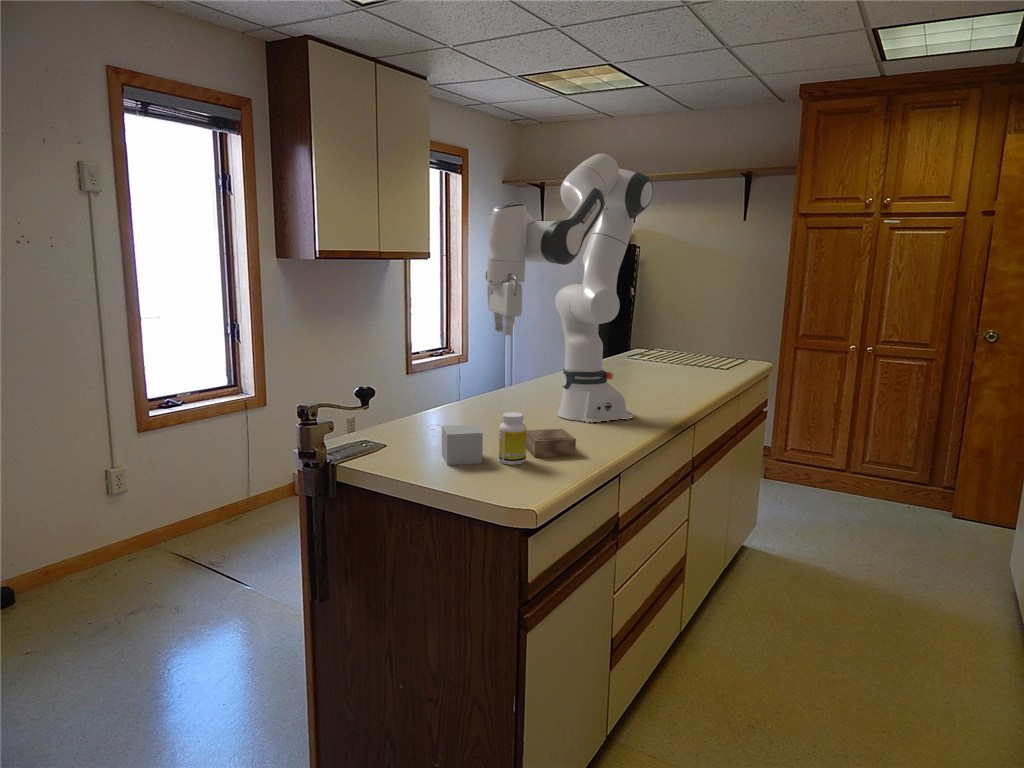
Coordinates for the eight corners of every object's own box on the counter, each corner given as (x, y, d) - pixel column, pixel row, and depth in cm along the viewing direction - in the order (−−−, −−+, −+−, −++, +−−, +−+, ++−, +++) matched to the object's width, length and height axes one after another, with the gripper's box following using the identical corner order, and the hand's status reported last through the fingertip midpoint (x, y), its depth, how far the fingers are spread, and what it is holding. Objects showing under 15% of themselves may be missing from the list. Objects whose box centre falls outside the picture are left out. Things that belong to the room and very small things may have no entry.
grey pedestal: (475, 453, 157) (475, 424, 156) (482, 463, 149) (482, 433, 148) (441, 454, 155) (441, 425, 154) (447, 465, 147) (447, 434, 146)
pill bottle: (531, 461, 151) (532, 414, 149) (513, 467, 147) (514, 418, 145) (511, 456, 155) (512, 410, 153) (493, 461, 151) (493, 414, 149)
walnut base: (561, 444, 166) (562, 428, 166) (575, 455, 157) (575, 438, 156) (523, 446, 164) (523, 429, 163) (534, 457, 154) (535, 440, 154)
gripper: (530, 275, 145) (527, 338, 147) (509, 274, 165) (506, 329, 167) (502, 274, 144) (499, 337, 146) (484, 273, 163) (481, 328, 165)
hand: (503, 333), depth 157 cm, fingers open, 8 cm apart
